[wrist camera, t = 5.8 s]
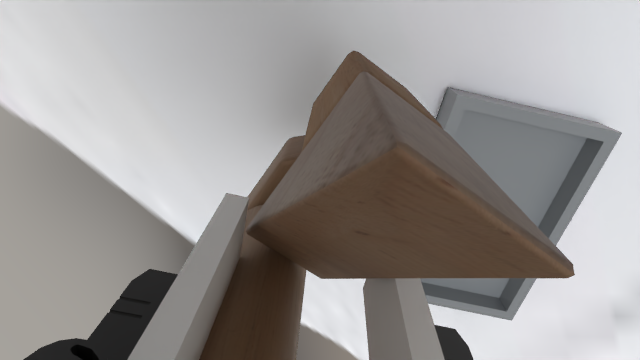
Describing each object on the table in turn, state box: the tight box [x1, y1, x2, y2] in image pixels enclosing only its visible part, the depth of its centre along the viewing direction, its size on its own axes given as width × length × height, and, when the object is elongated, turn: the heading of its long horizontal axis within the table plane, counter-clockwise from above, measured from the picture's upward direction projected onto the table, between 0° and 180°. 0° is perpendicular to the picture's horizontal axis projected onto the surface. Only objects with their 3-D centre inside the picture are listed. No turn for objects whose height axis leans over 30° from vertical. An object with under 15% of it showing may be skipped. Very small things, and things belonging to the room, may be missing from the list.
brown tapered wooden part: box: [199, 51, 575, 360], centre depth 12 cm, size 4×11×18 cm, turn 145°
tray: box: [420, 87, 622, 320], centre depth 36 cm, size 21×14×3 cm, turn 167°
